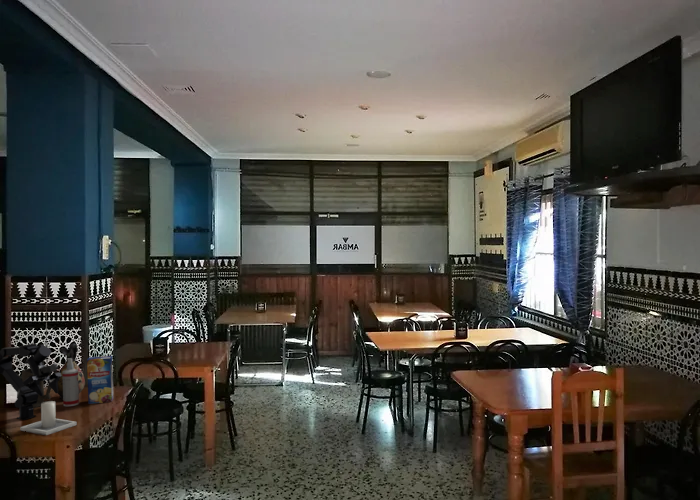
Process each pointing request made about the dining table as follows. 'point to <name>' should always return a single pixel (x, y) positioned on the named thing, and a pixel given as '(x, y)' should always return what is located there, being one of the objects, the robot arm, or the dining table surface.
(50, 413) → the grey rounded cylinder
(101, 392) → the juice carton
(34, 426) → the tray
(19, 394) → the robot arm
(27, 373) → the beer stein
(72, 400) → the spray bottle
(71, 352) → the ceramic jug
